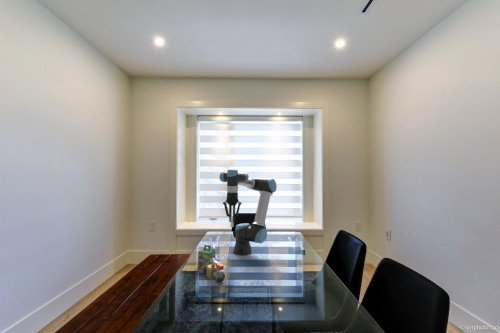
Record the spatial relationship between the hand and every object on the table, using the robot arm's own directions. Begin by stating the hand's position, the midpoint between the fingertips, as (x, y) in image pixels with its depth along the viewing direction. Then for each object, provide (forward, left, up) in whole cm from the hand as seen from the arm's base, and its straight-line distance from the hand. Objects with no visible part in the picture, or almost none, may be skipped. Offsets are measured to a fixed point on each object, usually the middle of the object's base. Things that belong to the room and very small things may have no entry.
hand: (232, 226), depth 151 cm
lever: (+15, +6, -20) cm, 26 cm away
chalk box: (+11, -15, -30) cm, 35 cm away
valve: (+15, +1, -29) cm, 33 cm away
